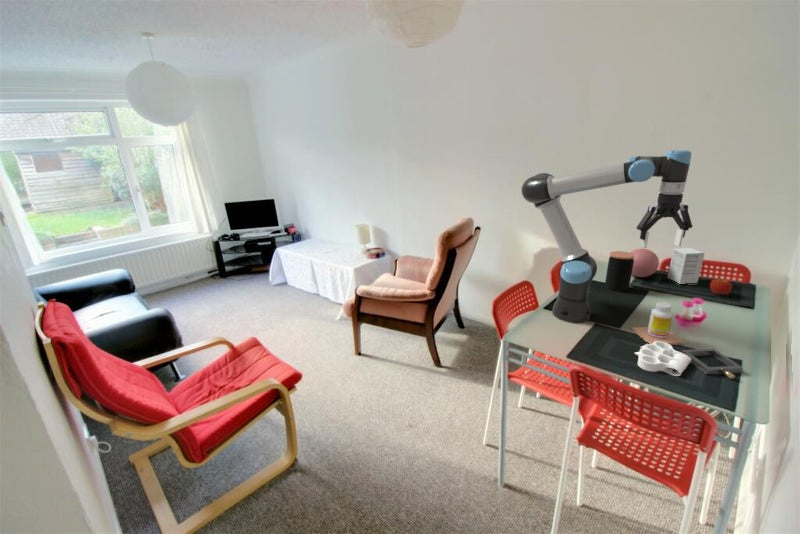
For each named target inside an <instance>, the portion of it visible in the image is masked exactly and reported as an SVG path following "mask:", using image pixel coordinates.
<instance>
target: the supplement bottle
mask: <svg viewBox="0 0 800 534" xmlns="http://www.w3.org/2000/svg"><path fill="white" fill-rule="evenodd" d="M671 309H672V305H671V304H669V303H668V302H663V301H659V302H656V303H655V308H653V309H652V310H651V312H650V316H649V321H648V326H647V327H648V330H647V332H648V334H649V335H651V336H653V337H656V338H666V337H667V336H668V333H669V332H670V329H671V328H670V327H671V324H672V319H673V313H672V311H671Z"/></svg>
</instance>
